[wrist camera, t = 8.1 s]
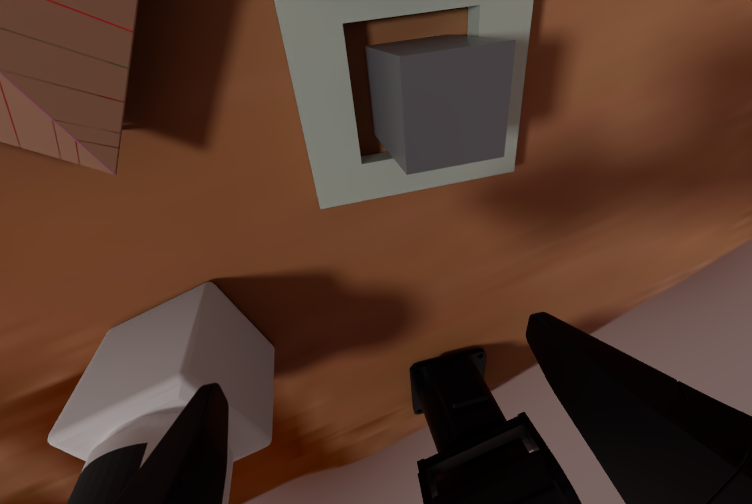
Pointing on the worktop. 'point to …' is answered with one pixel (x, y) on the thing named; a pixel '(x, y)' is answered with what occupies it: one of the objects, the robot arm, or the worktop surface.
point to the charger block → (441, 99)
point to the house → (66, 77)
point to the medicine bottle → (165, 389)
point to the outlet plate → (335, 102)
